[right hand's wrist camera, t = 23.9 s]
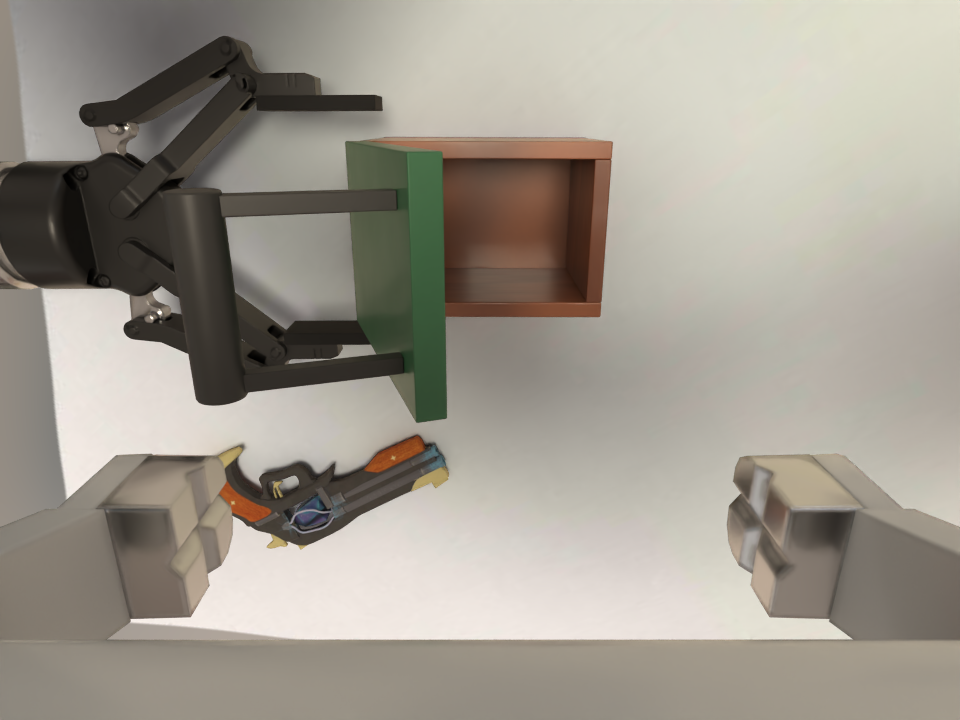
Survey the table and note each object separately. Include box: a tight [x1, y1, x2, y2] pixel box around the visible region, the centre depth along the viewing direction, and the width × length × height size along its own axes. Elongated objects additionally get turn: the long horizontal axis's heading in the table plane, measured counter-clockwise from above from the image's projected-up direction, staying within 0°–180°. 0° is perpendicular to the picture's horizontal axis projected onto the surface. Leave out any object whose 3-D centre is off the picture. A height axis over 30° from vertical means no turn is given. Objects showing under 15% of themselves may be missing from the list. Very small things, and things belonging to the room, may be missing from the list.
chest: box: [363, 137, 613, 317], centre depth 40 cm, size 13×10×10 cm
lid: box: [162, 141, 447, 423], centre depth 27 cm, size 14×10×9 cm
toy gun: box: [218, 436, 449, 549], centre depth 51 cm, size 3×19×10 cm
